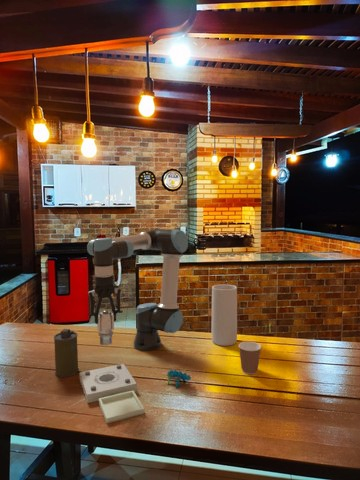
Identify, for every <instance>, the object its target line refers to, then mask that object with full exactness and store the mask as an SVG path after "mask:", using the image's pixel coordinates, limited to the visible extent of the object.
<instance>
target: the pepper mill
mask: <svg viewBox="0 0 360 480" xmlns="http://www.w3.org/2000/svg"><path fill="white" fill-rule="evenodd" d="M111 313H112V311H109V310H107V309H106V310H102V311H101V312H100V311H99V314H98V315H99V316H100V330H101V332H98V336H99V344H100V345H101V346H109V345H112V344H113V335H114V330H112V317H111Z"/></svg>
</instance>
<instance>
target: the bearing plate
mask: <svg viewBox="0 0 360 480" xmlns="http://www.w3.org/2000/svg"><path fill="white" fill-rule="evenodd" d="M79 382H80V385H82V386H81V388H83V389H82V392H83V395H84V394H85V395H84V397H85V400H86V403H87V404H89V403H94V402H99V398H103V397H107V396H112V395H116V394H120V393H124V392H129V391H134V392H135V393H136V392H137V389H138V388H137V387H138V385H137V382H136V381H135V379H134V377H133V375H132V374H131V373H130V371H129V370H128V368H127V366H126V365H125V364H124V363H121V364H116V365H110V366H106V367H99V368H95V369H91V370H85V371H81V372H79Z"/></svg>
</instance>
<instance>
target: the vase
mask: <svg viewBox="0 0 360 480" xmlns="http://www.w3.org/2000/svg"><path fill="white" fill-rule="evenodd" d="M210 333H211V334H210V335H211V342H212V343H213V344H215V345H217V346H221V347H227V346H234V345H235V344H236V343H237V340H238V287H237V285H234V284H224V283H223V284H215V285H212V286H211V332H210Z"/></svg>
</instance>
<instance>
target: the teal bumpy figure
mask: <svg viewBox="0 0 360 480" xmlns="http://www.w3.org/2000/svg"><path fill="white" fill-rule="evenodd" d="M166 377H167V385H170V382H171V380H173V381H176V382H175V388H179V384H180V381H181V380H182V381H191V380H192V377H191V375H189V374H188V373H187V372H182V371H181V370H179V371H177V370H176V369H169V370H168V372H167V373H166Z"/></svg>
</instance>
